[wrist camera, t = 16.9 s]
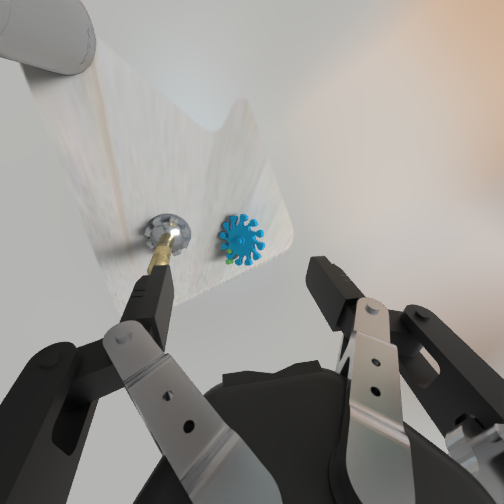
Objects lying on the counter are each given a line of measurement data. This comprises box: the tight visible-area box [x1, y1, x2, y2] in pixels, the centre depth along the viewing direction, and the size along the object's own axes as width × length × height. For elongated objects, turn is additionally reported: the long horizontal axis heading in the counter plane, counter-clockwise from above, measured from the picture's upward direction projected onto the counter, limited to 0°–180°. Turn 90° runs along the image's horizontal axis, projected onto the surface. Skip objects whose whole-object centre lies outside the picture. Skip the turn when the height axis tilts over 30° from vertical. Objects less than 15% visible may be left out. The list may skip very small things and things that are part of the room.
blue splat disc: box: [220, 214, 265, 266], centre depth 43 cm, size 11×6×10 cm
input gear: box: [145, 216, 189, 275], centre depth 37 cm, size 8×8×12 cm
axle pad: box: [148, 214, 191, 249], centre depth 42 cm, size 8×8×1 cm
